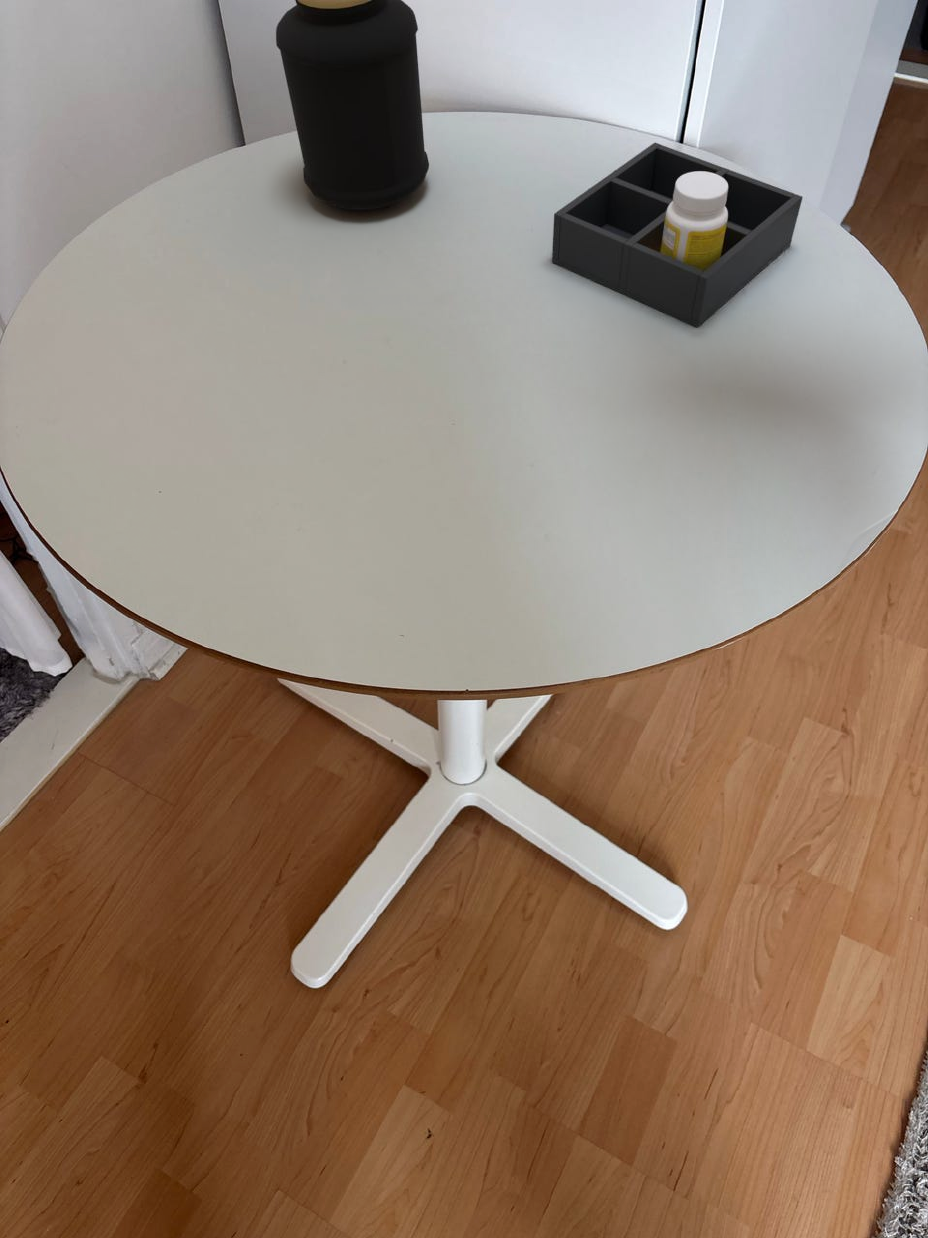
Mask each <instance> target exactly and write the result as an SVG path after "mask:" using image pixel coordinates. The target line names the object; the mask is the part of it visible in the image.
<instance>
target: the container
mask: <svg viewBox="0 0 928 1238" xmlns="http://www.w3.org/2000/svg"><path fill="white" fill-rule="evenodd" d="M294 1H295V3H296V5H294V6H293V7H291V8H290V9H289V10H287V11H286V12H285V13H284V15H282V17H281V19H280V20H279V21H278V23H277V25H276V28H275V44H276V47H277V49H279V51H280V56H281V60H282V61H281V62H282V66H283V70H284V75H285V80H286V85H287V90H288V95H289V100H290V104H291V108H292V109H291V110H292V113H293V119H294V123H295V127H296V131H297V132H296V133H297V137H298V143H299V146H300V151H301V156H302V162H303V169H302V173H303V182H304V184H305V185H306V187H307V188H308V189H309V191H310V192H311V193H312V194H313V196H314V197H315V198H317V199H318V200H321V201H322V202H324V203H326V204H328V205H330V206H332V207H336V208H342V209H346V210H359V211H364V210H365V211H366V210H372V209H381V208H384V207H387V206H391V205H394V204H396V203H398V202H400V201H402V200H403V199H405V198H407V197H409V196H411V195H412V194H413V193H414V192H415V191H416V190H418V188H420V187H421V185H422V184H423V183H424V181H425V178H426V177H427V174H428V171H429V169H430V162H429V157H428V154H427V152H426V151H425V150H426V149H425V138H424V124H423V109H422V97H421V85H420V72H419V71H420V69H419V56H418V44H417V32H418V30H419V27H418V23H417V19H416V14H415V12H414V10H413V9H412V8H411V7H410V6H409V5H408V3H405V1H403V0H294Z"/></svg>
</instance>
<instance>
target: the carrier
mask: <svg viewBox="0 0 928 1238" xmlns="http://www.w3.org/2000/svg"><path fill="white" fill-rule="evenodd" d="M696 171H704V172H711V173H714V174H717V175H719V176H721V177H723V178H724V179H725V180H726V181H727V183H728V193H727V200H726V204H725V207H726V208H727V211H728V220H727V225H726V230H725V235H724V241H723V246H722V251H721V256H720V258H719V259H718V260H717V261H716V262H715V263H714V264H712V265H711V266H710V267H709V268H708V269H706V270H705V271H702V270H700V269H697V268H695V267H693V266H690V265H688V264H686V263H683V262H681V261H678V260H676V259H674V258H671V257H669V256H667V255H664V254H662V253H660V252H661V245H662V238H663V231H664V224H665V216H666V211H667V208H668V206H669V204H670V203H671V202H672V201H673V194H674V189H675V184H676V181H677V179H678V178H679V177H680V176H682V175H684V174H686V173H690V172H696ZM803 197H804V196H802V195H800V194H795V193H794V192H791V191H788V190H785V189H783V188H779V187H777V186H775V185H772V184H770V183H766V182H765V181H761V180H758V179H756V178H753V177H750V176H748V175H745V174H742V173H740V172H736V171H734V170H731V169H729V168H726V167H722V166H721V165H720V166H719V165H718V164H715V163H713V162H709V161H707V160H704V159H701V158H699V157H696V156H694V155H690V154H688V153H685V152H682V151H679V150H677V149H674V148H671V147H668V146H666V145H663V144H661V143H657V142H653V143H652V144H650V145H649V146H648V147H646V148H645V149H643V150H642V151H640V152H639V153H638V154H636V155H635V156H634V157H632V158H631V159H629V160H628V161H626V162H625V163H624V164H622V165H620V166H619V167H618V168H617V169H615V170H614V171H612V172H611V173H609V174H608V175H606V176H605V177H604V178H602V179H601V180H600V181H598V182H597V183H595V184H594V185H592V186H591V187H590V188H588V189H587V190H586V191H584V192H583V193H581V194H580V195H578V196H577V197H576V198H574V199H573V200H572V201H570V202H568V203H567V204H566V205H564V206H563V207H562V208H560V209H559V210H557V211H556V212H555V213H554V214H553V227H552V228H553V231H552V251H551V253H552V254H551V263H553V264H555V265H558V266H560V267H562V268H564V269H566V270H568V271H571V272H573V273H575V274H577V275H580V276H582V277H584V278H587V279H589V280H591V281H593V282H595V283H598V284H599V285H602V286H604V287H606V288H608V289H611V290H613V291H615V292H618V293H620V294H622V295H623V296H626V297H629V298H631V299H633V300H635V301H638V302H640V303H642V304H644V305H646V306H648V307H651V308H653V309H655V310H657V311H660V312H662V313H664V314H666V315H668V316H671V317H673V318H675V319H678V320H680V321H682V322H685V324H688V325H691V326H693V327H694V328H699V327H700V326H701V325H702V324H703V323H705V321H706V320H708V319H709V318H710V317H711V316H712V315H714V313H716V312H717V311H718V310H719V309H720V308H721V307H722V306H724V305H725V304H726V303H728V301H730V299H731V298H733V297H734V296H735V295H736V294H738V293H739V291H741V290H742V289H743V288H744V287H745V286H747V284H749V283H750V282H751V281H752V280H753V279H754V278H755V277H757V276H758V275H759V274H760V273H761V272H762V271H763V270H764V269H766V268H767V267H768V266H769V265H770V264H771V263H773V262H774V260H775V259H777V258H778V257H779V256H780V255H781V254H782V253H783V252H785V251H786V250H787V249H788V248H789V247H790V246H791V244H792V240H793V236H794V232H795V228H796V225H797V220H798V217H799V213H800V209H801V205H802V201H803Z"/></svg>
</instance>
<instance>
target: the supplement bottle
mask: <svg viewBox="0 0 928 1238" xmlns="http://www.w3.org/2000/svg"><path fill="white" fill-rule="evenodd" d="M727 193H728V183H727V181H726V180H725V179H724V178H723V177H721V176H719V175H717V174H714V173H711V172H704V171H696V172H690V173H686V174H684V175H682V176H680V177H679V178H678V179H677V181H676V184H675V189H674V194H673V201H672V202H671V203H670V204H669V206H668V208H667V211H666V216H665V224H664V231H663V238H662V245H661V252H660V253H662V254H664V255H667V256H669V257H671V258H674V259H676V260H678V261H681V262H683V263H686V264H688V265H690V266H693V267H695V268H697V269H700V270H702V271H705V270H706V269H708V268H709V267H710V266H711V265H712V264H714V263H715V262H716V261H717V260H718V259H719V258H720V256H721V251H722V246H723V241H724V235H725V230H726V225H727V220H728V211H727V208H726V207H725V204H726V200H727Z"/></svg>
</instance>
